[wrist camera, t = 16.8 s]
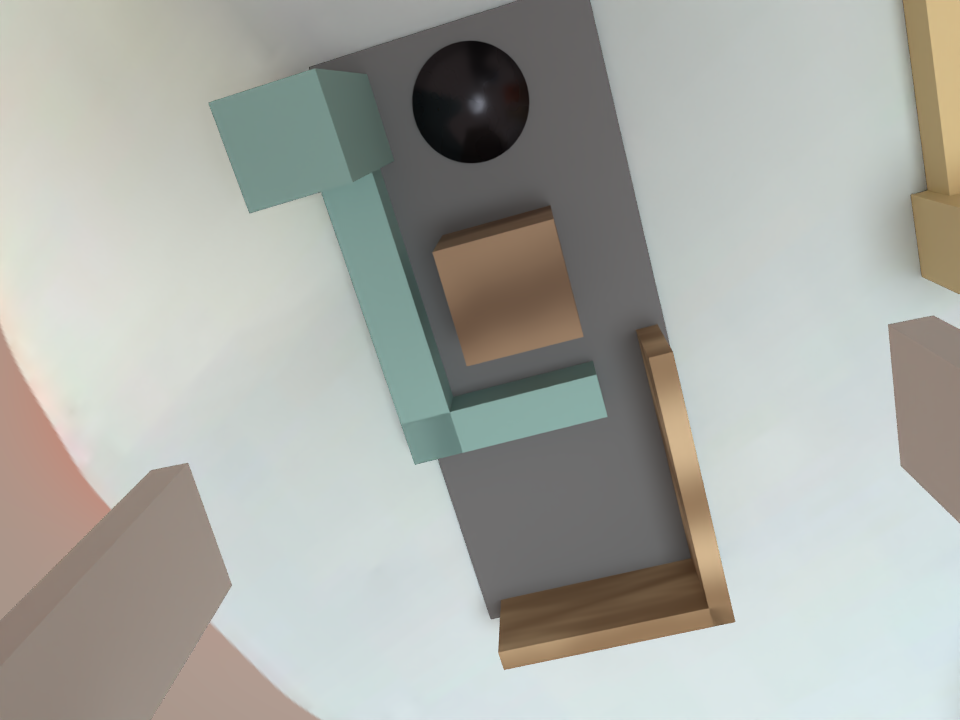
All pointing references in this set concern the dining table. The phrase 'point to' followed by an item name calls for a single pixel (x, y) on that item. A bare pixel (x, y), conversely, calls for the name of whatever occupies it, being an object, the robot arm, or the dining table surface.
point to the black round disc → (470, 102)
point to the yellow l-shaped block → (937, 135)
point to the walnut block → (507, 286)
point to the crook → (382, 259)
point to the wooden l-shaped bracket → (641, 593)
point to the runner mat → (597, 292)
